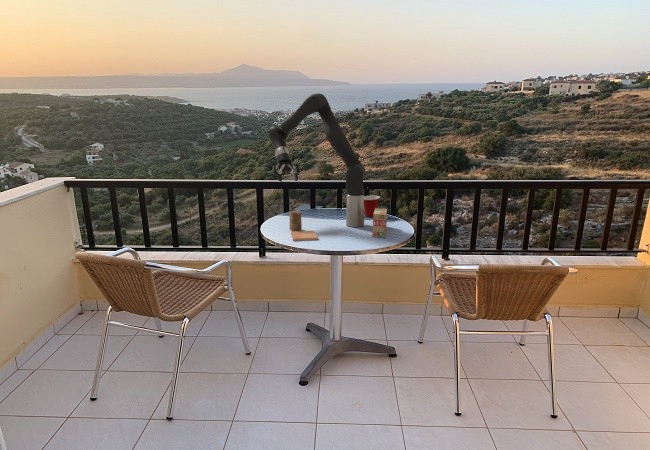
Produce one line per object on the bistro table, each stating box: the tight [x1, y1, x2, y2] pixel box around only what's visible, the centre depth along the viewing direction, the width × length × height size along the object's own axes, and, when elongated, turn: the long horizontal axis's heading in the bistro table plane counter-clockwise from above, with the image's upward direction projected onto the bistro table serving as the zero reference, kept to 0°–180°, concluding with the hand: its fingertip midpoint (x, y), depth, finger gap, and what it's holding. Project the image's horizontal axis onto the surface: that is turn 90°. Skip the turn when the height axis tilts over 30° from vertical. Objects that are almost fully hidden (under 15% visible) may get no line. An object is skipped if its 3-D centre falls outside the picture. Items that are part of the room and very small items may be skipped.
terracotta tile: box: [290, 230, 319, 242], centre depth 199 cm, size 12×12×1 cm
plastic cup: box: [363, 194, 381, 218], centre depth 238 cm, size 11×11×12 cm
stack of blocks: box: [371, 207, 388, 239], centre depth 207 cm, size 21×6×12 cm, turn 169°
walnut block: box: [288, 209, 303, 232], centre depth 208 cm, size 5×5×10 cm
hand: (288, 180), depth 213 cm, fingers open, 8 cm apart
